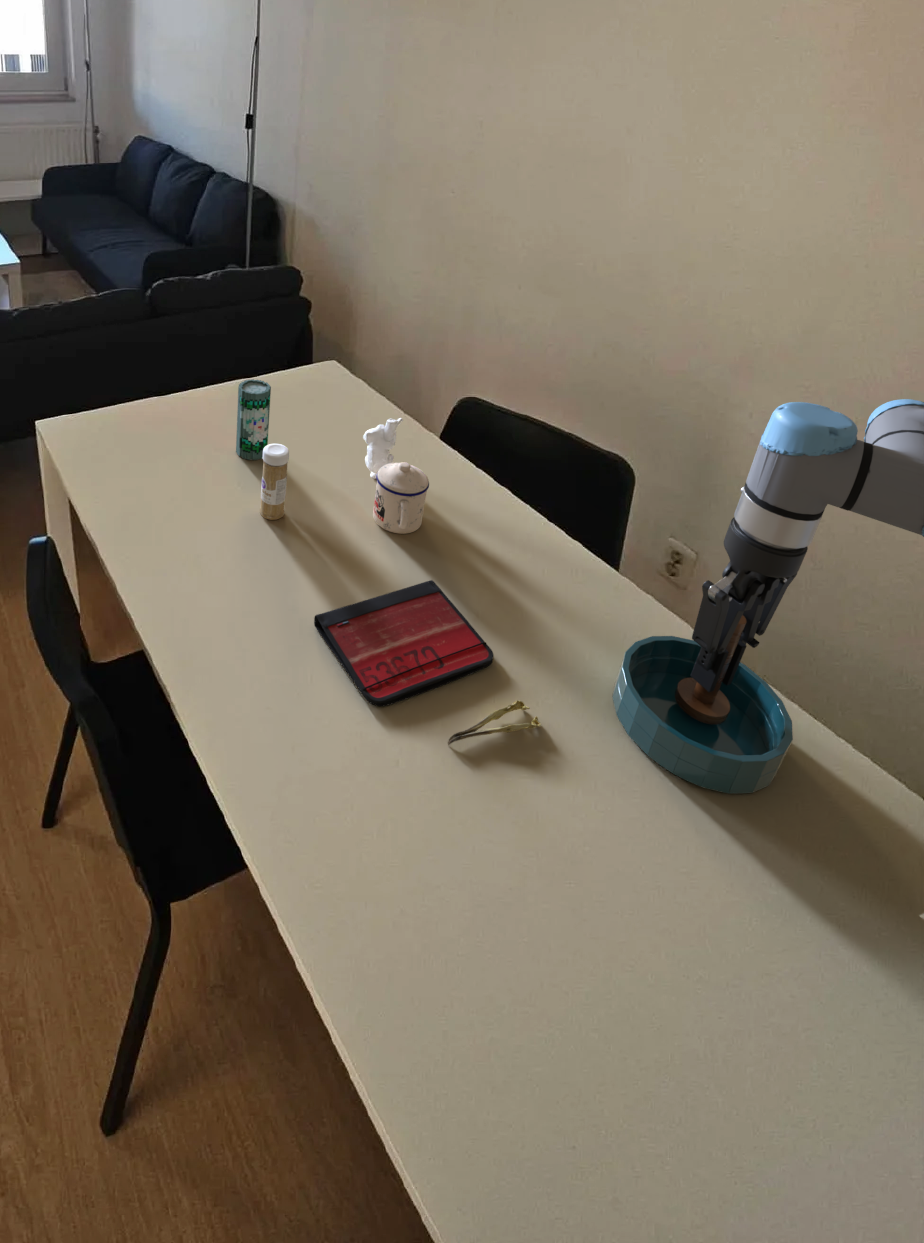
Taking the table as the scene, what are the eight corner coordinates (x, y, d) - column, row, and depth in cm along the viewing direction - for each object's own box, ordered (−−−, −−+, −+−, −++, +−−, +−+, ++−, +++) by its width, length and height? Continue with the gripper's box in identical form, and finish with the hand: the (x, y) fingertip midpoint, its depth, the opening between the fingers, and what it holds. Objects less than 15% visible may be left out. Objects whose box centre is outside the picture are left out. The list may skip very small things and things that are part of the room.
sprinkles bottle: (254, 511, 134) (257, 447, 128) (273, 502, 136) (277, 439, 131) (270, 524, 131) (274, 459, 125) (290, 515, 133) (294, 451, 128)
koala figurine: (388, 461, 150) (395, 409, 146) (406, 479, 145) (414, 426, 140) (351, 468, 148) (357, 415, 143) (368, 487, 142) (374, 433, 137)
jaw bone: (441, 736, 93) (444, 725, 92) (519, 706, 98) (523, 695, 98) (463, 765, 90) (466, 754, 89) (543, 732, 95) (546, 721, 94)
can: (243, 462, 148) (246, 395, 142) (232, 446, 153) (234, 382, 147) (271, 457, 150) (275, 391, 144) (259, 441, 155) (262, 377, 150)
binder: (314, 613, 108) (432, 577, 116) (312, 625, 109) (429, 588, 117) (373, 703, 95) (501, 656, 103) (371, 716, 96) (498, 668, 104)
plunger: (738, 717, 95) (776, 628, 89) (704, 731, 93) (740, 641, 87) (696, 680, 100) (730, 594, 94) (663, 692, 98) (695, 605, 92)
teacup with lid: (369, 501, 138) (376, 448, 133) (419, 506, 137) (428, 452, 132) (374, 544, 127) (381, 487, 122) (428, 549, 126) (437, 492, 121)
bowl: (811, 767, 91) (829, 733, 89) (703, 818, 85) (718, 783, 82) (681, 653, 107) (692, 622, 105) (581, 689, 101) (591, 656, 98)
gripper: (783, 499, 91) (726, 642, 100) (692, 524, 86) (641, 673, 95) (848, 536, 85) (780, 686, 94) (754, 566, 79) (692, 722, 89)
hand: (710, 679), depth 95 cm, fingers closed on plunger, 2 cm apart
